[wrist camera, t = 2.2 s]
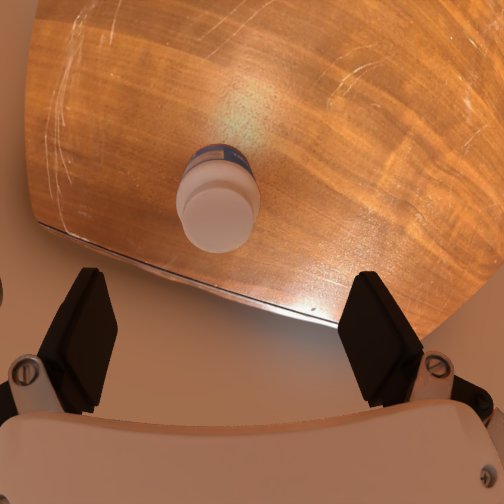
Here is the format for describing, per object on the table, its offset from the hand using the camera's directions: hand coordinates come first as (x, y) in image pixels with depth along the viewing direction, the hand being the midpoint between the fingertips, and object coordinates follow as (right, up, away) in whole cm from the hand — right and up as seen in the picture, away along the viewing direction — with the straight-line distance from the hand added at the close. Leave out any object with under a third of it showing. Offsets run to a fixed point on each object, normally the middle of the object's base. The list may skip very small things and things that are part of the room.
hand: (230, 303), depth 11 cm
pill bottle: (-2, +9, +14) cm, 17 cm away
